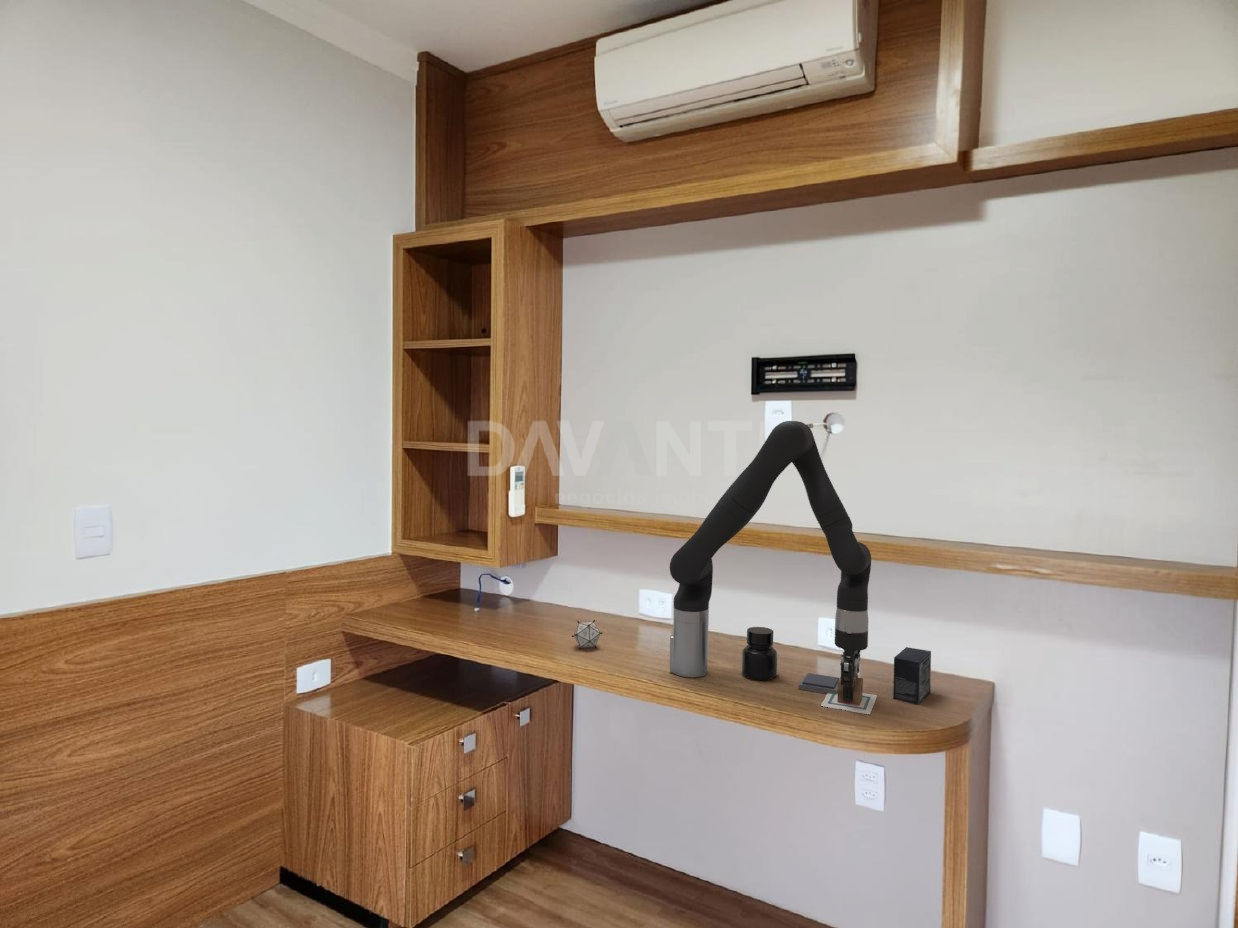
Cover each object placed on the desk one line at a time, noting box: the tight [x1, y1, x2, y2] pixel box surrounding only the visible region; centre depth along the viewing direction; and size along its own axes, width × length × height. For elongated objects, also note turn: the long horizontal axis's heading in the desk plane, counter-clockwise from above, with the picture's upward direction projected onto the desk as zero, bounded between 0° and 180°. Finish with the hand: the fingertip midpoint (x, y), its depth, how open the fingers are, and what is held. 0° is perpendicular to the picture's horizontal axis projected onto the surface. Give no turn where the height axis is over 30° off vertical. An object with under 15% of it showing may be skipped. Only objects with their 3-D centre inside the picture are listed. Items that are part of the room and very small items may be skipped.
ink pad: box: [798, 672, 840, 695], centre depth 188 cm, size 9×9×2 cm
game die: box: [571, 619, 604, 651], centre depth 218 cm, size 9×8×10 cm
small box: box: [892, 646, 932, 705], centre depth 183 cm, size 11×6×10 cm, turn 144°
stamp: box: [837, 671, 864, 706], centre depth 178 cm, size 5×5×7 cm
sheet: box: [820, 692, 878, 716], centre depth 179 cm, size 11×13×1 cm
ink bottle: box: [741, 626, 778, 681], centre depth 196 cm, size 10×9×12 cm
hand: (849, 696), depth 179 cm, fingers closed on stamp, 5 cm apart
